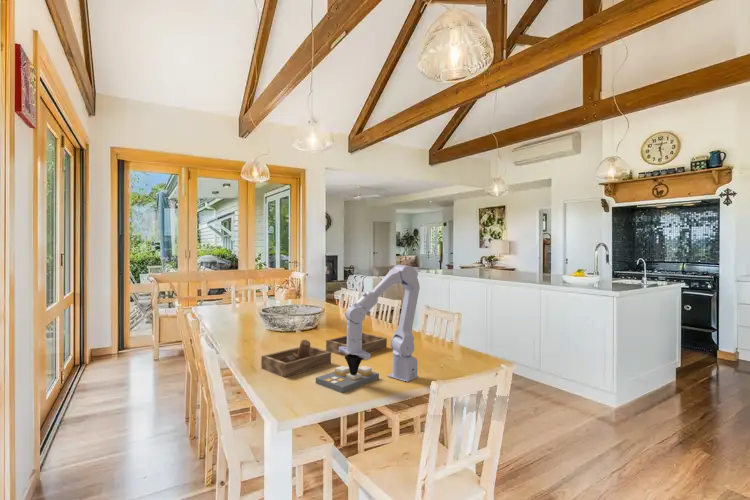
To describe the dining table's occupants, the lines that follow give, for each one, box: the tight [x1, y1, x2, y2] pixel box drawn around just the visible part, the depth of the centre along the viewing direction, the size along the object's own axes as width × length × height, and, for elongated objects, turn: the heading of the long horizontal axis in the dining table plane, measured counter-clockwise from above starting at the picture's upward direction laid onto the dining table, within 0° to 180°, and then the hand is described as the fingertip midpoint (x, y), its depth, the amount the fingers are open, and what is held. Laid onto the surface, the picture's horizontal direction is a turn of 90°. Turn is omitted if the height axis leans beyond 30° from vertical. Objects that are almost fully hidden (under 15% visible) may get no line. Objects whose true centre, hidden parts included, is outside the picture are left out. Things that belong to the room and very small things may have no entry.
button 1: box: [357, 365, 373, 376], centre depth 154 cm, size 4×4×2 cm
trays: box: [260, 332, 388, 378], centre depth 181 cm, size 18×60×5 cm, turn 140°
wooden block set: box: [285, 339, 311, 363], centre depth 166 cm, size 18×9×10 cm, turn 142°
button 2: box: [346, 373, 361, 380], centre depth 149 cm, size 4×4×2 cm
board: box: [315, 371, 380, 394], centre depth 151 cm, size 14×20×2 cm
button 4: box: [334, 365, 350, 377], centre depth 153 cm, size 4×4×2 cm
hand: (353, 374), depth 149 cm, fingers closed, pressing on button 2
